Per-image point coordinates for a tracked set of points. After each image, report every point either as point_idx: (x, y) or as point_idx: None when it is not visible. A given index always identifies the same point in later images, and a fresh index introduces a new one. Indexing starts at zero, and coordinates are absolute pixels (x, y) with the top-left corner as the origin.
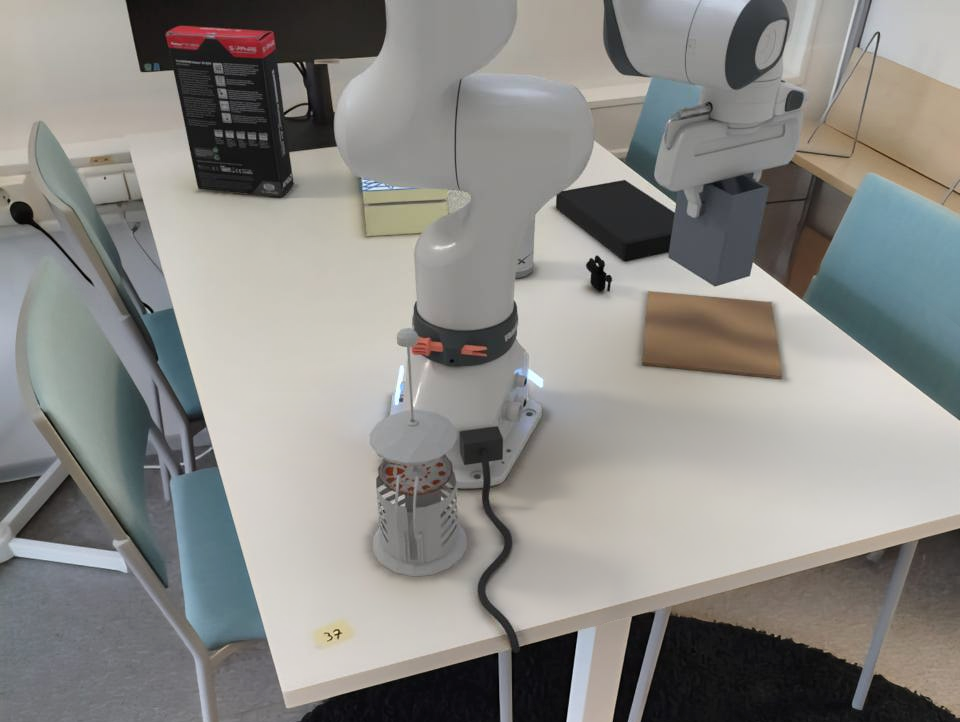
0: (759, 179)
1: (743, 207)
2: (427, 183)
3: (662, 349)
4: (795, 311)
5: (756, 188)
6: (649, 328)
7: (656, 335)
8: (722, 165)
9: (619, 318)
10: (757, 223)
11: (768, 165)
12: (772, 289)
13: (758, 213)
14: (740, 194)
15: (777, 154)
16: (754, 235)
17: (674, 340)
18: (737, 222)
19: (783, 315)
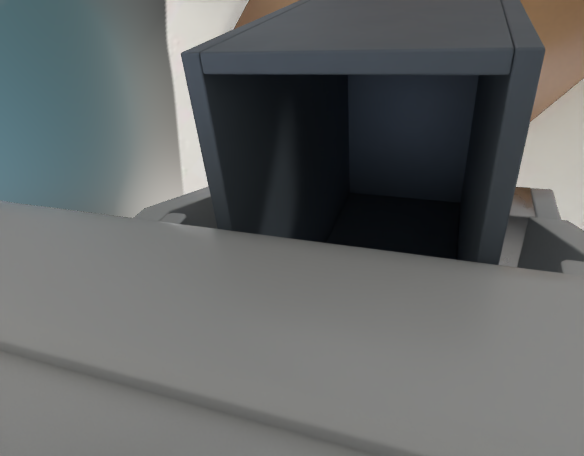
0: (153, 205)
1: (401, 26)
2: None
3: None
4: (189, 8)
5: (229, 126)
6: (539, 102)
7: (552, 67)
8: (456, 333)
9: (545, 178)
10: (295, 11)
11: (84, 218)
12: (187, 104)
13: (286, 19)
14: (442, 53)
15: (1, 242)
16: (315, 3)
17: (535, 22)
18: (435, 11)
19: (220, 6)
